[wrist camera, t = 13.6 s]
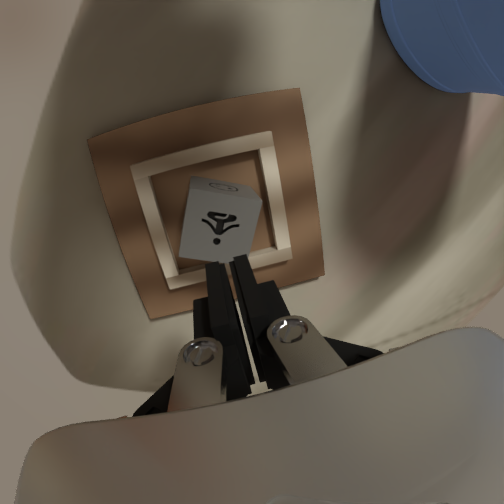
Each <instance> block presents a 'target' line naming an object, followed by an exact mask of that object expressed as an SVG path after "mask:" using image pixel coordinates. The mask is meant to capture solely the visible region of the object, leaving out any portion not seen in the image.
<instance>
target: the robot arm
mask: <svg viewBox="0 0 504 504" xmlns="http://www.w3.org/2000/svg"><path fill="white" fill-rule="evenodd" d="M233 259H234V261H231V262H229V266H230V270H231V274H232V278H233V282H234V287H235V291H236V295H237V299H238V303H239V307H240V311H241V315H242V319H243V323H244V327H245V331H246V334H247V338H248V341H249V345H250V349H251V352H252V356H253V359H254V363H255V366H256V370H257V373H258V377H259V380H260V382H264V381H266V383H267V387H268V389H273V390H271V391H268V392H264V393H260V394H256V395H252V396H248V397H246V396H247V395H248V394H251V393H252V392H251V388H250V385H252V384H255V380H254V376H253V372H252V368H251V364H250V360H249V356H248V352H247V347H246V343H245V339H244V335H243V331H242V327H241V322H240V318H239V315H238V311H237V308H236V304H235V300H234V297H233V293H232V289H231V286H230V282H229V278H228V274H227V271H226V267H225V263H223V264H219V261H216V262H212V263H208V264H205V271H206V282H207V293H208V296H207V297H203V298H199V299H195V300H193V321H194V340H192V341H190V342H188V343H187V344H186V345H184V347H183V348H182V349H181V350H180V353H179V355H178V359H177V364H176V369H175V374H174V376H172V377H171V378H170V379H169V380H168V381H167V382H166V383H165V384H164V385H163V386H162V387H161V388H160V389H159V390H158V391H156V392H155V393H154V394H153V395H152V396H151V397H150V398H149V399H148V400H147V401H146V402H145V403H144V404H143V405H141V406H140V407H139V408H138V409H137V410H136V412H135V413H134V414H133V416H132V417H127V416H123V417H120V418H117V419H109V420H100V421H90V422H83V423H76V424H70V425H67V426H63V427H59V428H57V429H54V430H52V431H49V432H47V433H45V434H44V435H42V436H41V437H39V438H38V439H36V440H35V441H34V442H33V444H32V446H31V447H30V448H29V450H28V453H27V455H26V457H25V460H24V463H23V466H22V469H21V473H20V477H19V481H18V486H17V490H16V496H15V501H14V504H504V339H503V338H502V337H501V336H499V335H498V334H496V333H495V332H493V331H491V330H489V329H486V328H481V327H462V328H454V329H450V330H446V331H442V332H439V333H436V334H433V335H430V336H427V337H424V338H422V339H419V340H417V341H414V342H412V343H409V344H407V345H404V346H401V347H397V348H392V349H389V352H387V353H383V352H381V351H379V350H376V349H372V348H368V347H364V346H359V345H355V344H351V343H347V342H343V341H339V340H335V339H331V338H327V337H323V336H322V335H321V334H320V333H319V331H318V330H317V329H316V328H315V327H314V325H313V324H312V323H311V322H310V321H309V320H308V319H307V318H304V317H302V316H296V315H292V316H291V315H290V313H289V311H288V309H287V307H286V305H285V303H284V300H283V298H282V296H281V294H280V292H279V290H278V287H277V285H276V283H275V281H274V280H271V281H267V282H263V283H259V284H257V282H256V279H255V276H254V273H253V271H252V268H251V265H250V263H249V260H248V257H247V254H244V255H240V256H236V257H233Z"/></svg>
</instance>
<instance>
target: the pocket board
mask: <svg viewBox="0 0 504 504" xmlns="http://www.w3.org/2000/svg"><path fill="white" fill-rule="evenodd" d="M87 142H88V146H89V149H90V153H91V157H92V161H93V164H94V168H95V171H96V175H97V178H98V181H99V185H100V188H101V191H102V195H103V198H104V201H105V204H106V207H107V210H108V213H109V216H110V219H111V222H112V225H113V228H114V230H115V233H116V236H117V239H118V242H119V244H120V247H121V250H122V252H123V255H124V258H125V260H126V263H127V265H128V268H129V270H130V273H131V275H132V278H133V280H134V283H135V285H136V287H137V290H138V292H139V294H140V297H141V299H142V301H143V304H144V306H145V308H146V311H147V313H148V315H149V317H150V319H153V318H158V317H162V316H167V315H171V314H175V313H180V312H184V311H188V310H192V309H193V300H195V299H199V298H203V297H207V296H208V293H207V282H206V271H205V264H208V263H212V261H204V260H197V259H190V258H183V257H179V247H180V238H181V230H182V224H183V218H184V212H185V206H186V201H187V195H188V189H189V184H190V179H191V176H198V177H203V178H209V179H215V180H221V181H226V182H232V183H237V184H242V185H247V186H251V188H252V189H253V190H254V191H255V192H256V194H257V195H258V196H259V197H260V199H261V200H262V205H261V209H260V213H259V217H258V221H257V225H256V229H255V233H254V237H253V241H252V245H251V249H250V253H249V257H248V260H249V263H250V265H251V268H252V271H253V273H254V276H255V279H256V282H257V284H259V283H263V282H267V281H271V280H274V281H275V283H276V285H277V287H278V288H280V287H283V286H287V285H291V284H294V283H298V282H302V281H305V280H309V279H312V278H316V277H320V276H323V275H325V271H324V260H323V249H322V239H321V229H320V220H319V211H318V203H317V195H316V187H315V179H314V172H313V165H312V158H311V151H310V145H309V138H308V132H307V126H306V120H305V114H304V109H303V103H302V98H301V92H300V88H293V89H285V90H277V91H270V92H264V93H257V94H251V95H245V96H240V97H234V98H229V99H224V100H219V101H215V102H210V103H206V104H201V105H197V106H193V107H189V108H185V109H181V110H177V111H173V112H169V113H166V114H162V115H159V116H155V117H152V118H148V119H145V120H142V121H139V122H135V123H132V124H129V125H126V126H123V127H120V128H117V129H114V130H112V131H109V132H106V133H103V134H100V135H98V136H95V137H92V138H90V139H87ZM219 264H223V263H219ZM225 267H226V271H227V274H228V278H229V282H230V286H231V289H232V293H233V297H234V299H237V295H236V291H235V287H234V282H233V278H232V274H231V270H230V266H229V264H226V263H225Z"/></svg>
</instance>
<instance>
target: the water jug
mask: <svg viewBox="0 0 504 504" xmlns="http://www.w3.org/2000/svg"><path fill="white" fill-rule="evenodd" d="M380 8H381V14H382V19H383V22H384V25H385V28H386V31H387V33H388V36H389V38H390V40H391V42H392V44H393V46H394V47H395V49H396V51H397V52H398V54H399V55H400V57H401V58H402V59H403V61H404V62H405V63H406V64H407V66H408V67H409V68H410V69H411V70H412V71H413V72H414V73H415V74H416V75H417V76H418V77H419V78H421V79H422V80H423V81H424V82H426V83H427V84H429V85H430V86H432V87H434V88H436V89H439V90H441V91H445V92H450V93H467V92H476V93H489V94H498V95H501V96H504V0H380Z"/></svg>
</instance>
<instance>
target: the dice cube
mask: <svg viewBox="0 0 504 504" xmlns="http://www.w3.org/2000/svg"><path fill="white" fill-rule="evenodd" d="M261 205H262V200H261V199H260V197H259V196H258V195H257V194H256V192H255V191H254V190H253V189H252V188H251V186H247V185H242V184H237V183H232V182H226V181H221V180H215V179H209V178H203V177H198V176H191V179H190V184H189V189H188V195H187V201H186V206H185V212H184V218H183V224H182V230H181V238H180V247H179V257H183V258H190V259H197V260H204V261H212V262H216V261H219V263H226V264H229V262H231V261H234V259H233V257H236V256H240V255H244V254H247V257H249V253H250V249H251V245H252V241H253V237H254V233H255V229H256V225H257V221H258V217H259V213H260V209H261Z"/></svg>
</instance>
